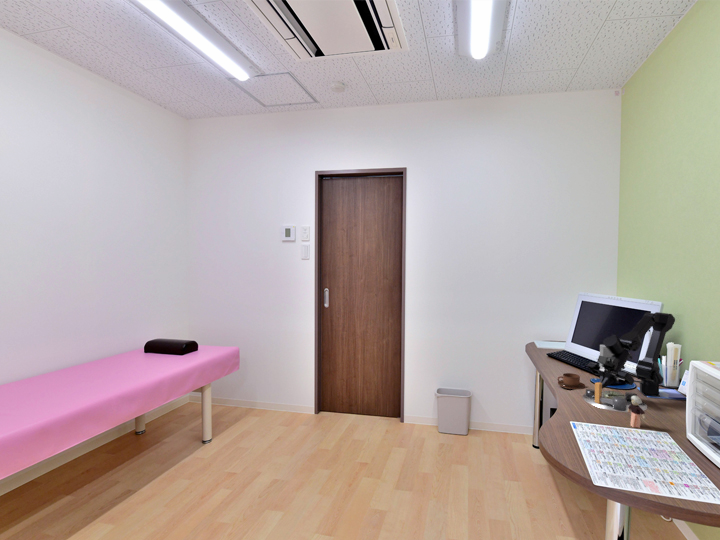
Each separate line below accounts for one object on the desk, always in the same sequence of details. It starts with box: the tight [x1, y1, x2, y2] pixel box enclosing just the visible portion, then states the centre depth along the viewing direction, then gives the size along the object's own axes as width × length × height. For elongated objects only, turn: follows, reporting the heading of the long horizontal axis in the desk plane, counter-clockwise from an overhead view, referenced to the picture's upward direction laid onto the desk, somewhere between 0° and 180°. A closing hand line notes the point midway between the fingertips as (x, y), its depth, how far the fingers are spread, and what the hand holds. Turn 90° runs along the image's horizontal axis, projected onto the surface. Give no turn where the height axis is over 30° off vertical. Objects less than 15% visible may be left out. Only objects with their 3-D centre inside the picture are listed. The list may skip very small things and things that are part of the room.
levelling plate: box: [582, 388, 648, 413], centre depth 175 cm, size 24×24×5 cm
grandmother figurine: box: [627, 395, 647, 429], centre depth 150 cm, size 8×4×13 cm, turn 21°
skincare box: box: [598, 344, 613, 368], centre depth 215 cm, size 8×7×16 cm
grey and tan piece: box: [594, 381, 627, 410], centre depth 169 cm, size 12×5×8 cm, turn 34°
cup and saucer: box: [557, 372, 586, 391], centre depth 197 cm, size 12×12×6 cm
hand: (599, 388), depth 174 cm, fingers closed, pressing on grey and tan piece
